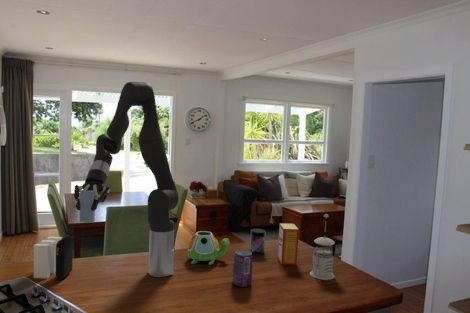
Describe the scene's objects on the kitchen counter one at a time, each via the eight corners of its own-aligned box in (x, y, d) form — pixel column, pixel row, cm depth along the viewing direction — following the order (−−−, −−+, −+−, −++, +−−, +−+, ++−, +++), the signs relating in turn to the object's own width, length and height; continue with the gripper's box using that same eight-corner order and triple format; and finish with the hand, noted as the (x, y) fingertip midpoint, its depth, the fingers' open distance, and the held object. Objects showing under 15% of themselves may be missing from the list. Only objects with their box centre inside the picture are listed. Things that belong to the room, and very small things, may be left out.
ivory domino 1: (36, 275, 138) (36, 243, 137) (50, 276, 138) (50, 244, 137) (33, 277, 136) (33, 245, 135) (47, 278, 136) (47, 246, 135)
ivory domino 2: (49, 266, 147) (49, 236, 146) (61, 267, 147) (62, 237, 146) (46, 268, 145) (46, 237, 144) (59, 269, 145) (59, 238, 144)
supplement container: (246, 252, 174) (248, 230, 174) (255, 249, 180) (256, 227, 179) (259, 256, 170) (260, 233, 170) (267, 252, 176) (268, 230, 175)
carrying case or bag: (61, 283, 132) (61, 242, 131) (52, 283, 132) (52, 242, 131) (73, 271, 143) (74, 233, 142) (65, 271, 143) (66, 233, 142)
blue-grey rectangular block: (81, 220, 146) (82, 190, 145) (94, 221, 145) (95, 190, 144) (79, 222, 144) (79, 190, 143) (92, 222, 143) (93, 191, 142)
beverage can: (253, 282, 142) (255, 251, 141) (248, 289, 135) (249, 256, 134) (235, 278, 144) (237, 248, 143) (229, 285, 137) (231, 253, 136)
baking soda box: (277, 257, 170) (279, 222, 169) (291, 257, 171) (293, 222, 170) (281, 264, 161) (283, 228, 160) (296, 265, 161) (298, 228, 160)
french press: (339, 275, 152) (343, 214, 150) (324, 283, 144) (329, 218, 142) (317, 268, 159) (321, 210, 157) (302, 275, 150) (306, 213, 148)
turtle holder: (231, 265, 158) (232, 237, 157) (188, 265, 155) (189, 237, 154) (226, 254, 170) (228, 229, 169) (186, 255, 167) (187, 229, 166)
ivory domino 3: (43, 270, 142) (43, 239, 141) (56, 271, 142) (56, 240, 141) (40, 272, 140) (40, 241, 139) (53, 273, 140) (54, 242, 139)
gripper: (77, 167, 151) (63, 203, 139) (113, 169, 150) (101, 205, 139) (83, 178, 156) (69, 214, 145) (117, 180, 156) (106, 215, 145)
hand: (85, 209), depth 142 cm, fingers closed on blue-grey rectangular block, 5 cm apart
